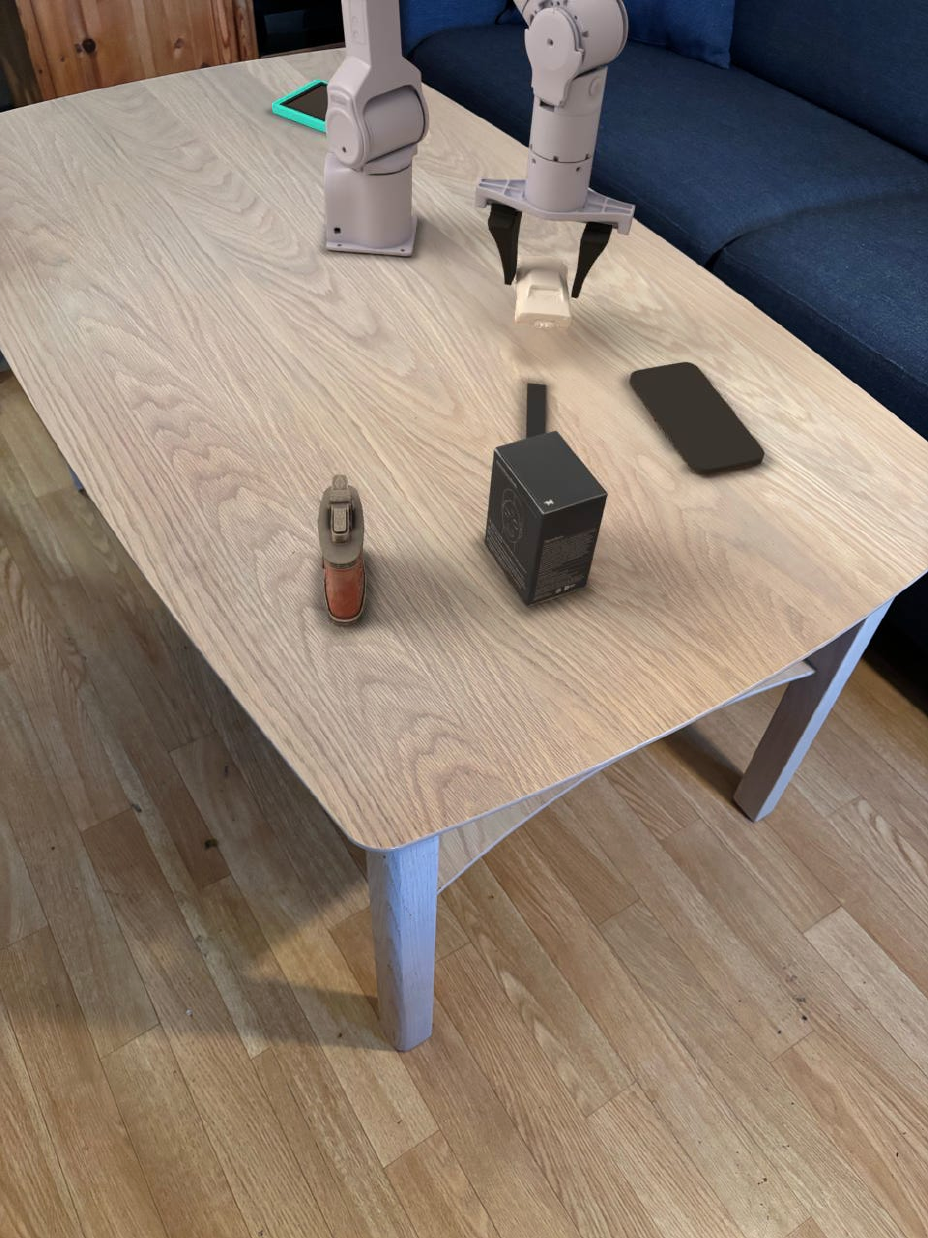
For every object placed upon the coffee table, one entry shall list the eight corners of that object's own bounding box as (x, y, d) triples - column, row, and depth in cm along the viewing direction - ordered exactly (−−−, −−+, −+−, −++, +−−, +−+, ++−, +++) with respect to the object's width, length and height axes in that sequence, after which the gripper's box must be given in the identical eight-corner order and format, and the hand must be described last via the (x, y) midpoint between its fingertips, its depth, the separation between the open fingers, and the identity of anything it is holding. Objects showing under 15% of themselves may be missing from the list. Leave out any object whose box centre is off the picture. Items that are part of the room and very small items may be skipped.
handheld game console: (368, 150, 121) (367, 139, 120) (269, 112, 126) (268, 101, 125) (413, 121, 127) (414, 111, 126) (317, 86, 132) (317, 76, 130)
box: (587, 587, 78) (610, 493, 70) (526, 609, 76) (542, 514, 68) (541, 523, 82) (557, 426, 74) (481, 542, 80) (491, 445, 72)
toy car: (563, 271, 100) (569, 241, 97) (570, 341, 92) (577, 311, 90) (511, 266, 99) (515, 236, 97) (514, 336, 92) (519, 305, 89)
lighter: (324, 550, 79) (315, 459, 71) (365, 549, 79) (362, 458, 71) (323, 628, 74) (314, 538, 66) (367, 627, 74) (364, 537, 66)
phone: (693, 359, 96) (770, 456, 88) (691, 366, 97) (767, 463, 88) (626, 371, 94) (698, 472, 86) (624, 378, 95) (696, 478, 86)
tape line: (524, 491, 84) (525, 490, 84) (527, 384, 94) (527, 382, 94) (545, 493, 84) (545, 492, 84) (545, 385, 94) (545, 384, 94)
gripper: (650, 141, 86) (622, 278, 96) (492, 113, 88) (481, 251, 98) (638, 178, 82) (610, 317, 92) (472, 148, 83) (464, 288, 94)
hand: (543, 286), depth 95 cm, fingers closed on toy car, 6 cm apart
